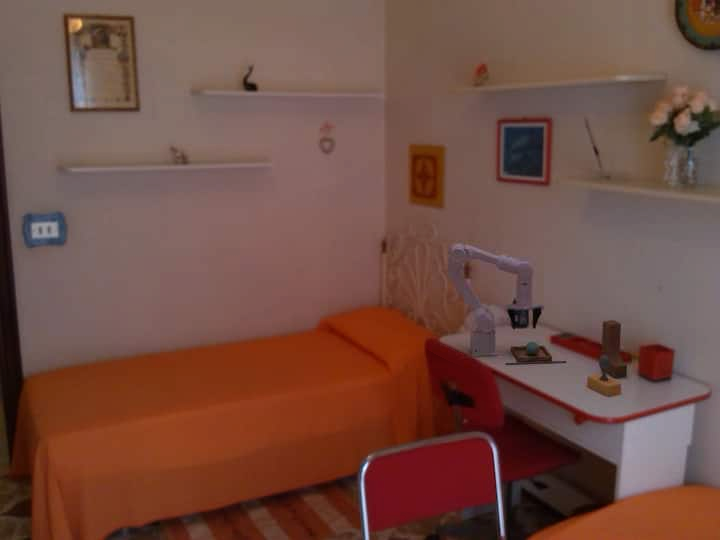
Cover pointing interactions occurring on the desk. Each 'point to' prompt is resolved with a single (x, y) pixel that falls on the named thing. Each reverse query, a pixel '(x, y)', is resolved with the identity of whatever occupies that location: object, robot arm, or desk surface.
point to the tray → (523, 356)
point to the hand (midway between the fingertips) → (523, 328)
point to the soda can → (521, 317)
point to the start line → (536, 363)
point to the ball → (532, 348)
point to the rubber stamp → (604, 380)
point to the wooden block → (613, 348)
